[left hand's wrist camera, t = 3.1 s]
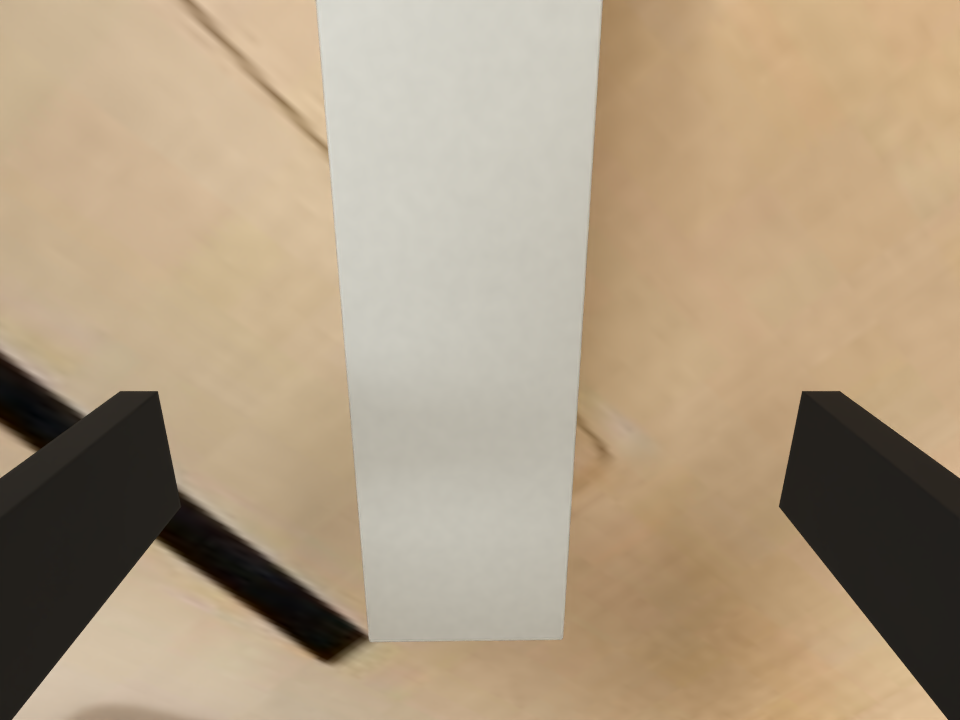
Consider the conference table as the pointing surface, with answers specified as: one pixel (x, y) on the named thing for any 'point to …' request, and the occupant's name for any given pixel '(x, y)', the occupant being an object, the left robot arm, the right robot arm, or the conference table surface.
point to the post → (462, 299)
